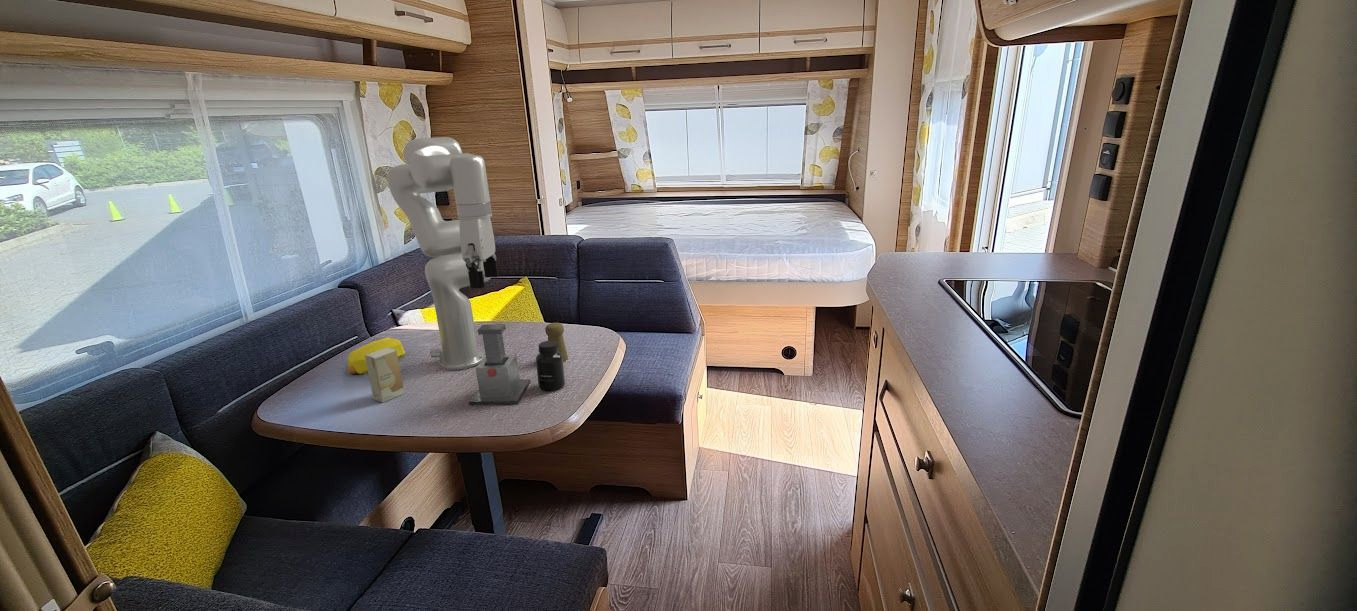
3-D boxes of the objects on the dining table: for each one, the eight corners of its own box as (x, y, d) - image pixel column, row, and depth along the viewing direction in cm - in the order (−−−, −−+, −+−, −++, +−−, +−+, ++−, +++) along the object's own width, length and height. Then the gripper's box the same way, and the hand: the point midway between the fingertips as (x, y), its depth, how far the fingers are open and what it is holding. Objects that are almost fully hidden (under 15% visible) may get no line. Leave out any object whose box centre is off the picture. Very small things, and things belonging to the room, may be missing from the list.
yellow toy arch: (341, 375, 161) (359, 379, 158) (335, 353, 159) (354, 357, 156) (395, 351, 176) (413, 355, 173) (391, 331, 174) (409, 334, 171)
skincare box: (382, 403, 143) (372, 358, 139) (372, 399, 145) (362, 355, 141) (406, 393, 148) (397, 349, 144) (396, 389, 150) (387, 346, 147)
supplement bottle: (542, 394, 145) (537, 351, 141) (536, 384, 150) (530, 342, 147) (569, 388, 148) (564, 345, 144) (561, 378, 153) (556, 337, 150)
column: (487, 391, 144) (477, 330, 139) (491, 385, 147) (482, 324, 142) (509, 391, 144) (500, 329, 138) (513, 384, 147) (505, 324, 142)
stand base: (469, 405, 140) (463, 372, 138) (485, 383, 152) (481, 352, 149) (517, 404, 140) (513, 370, 137) (530, 382, 152) (526, 351, 149)
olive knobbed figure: (563, 364, 162) (559, 328, 159) (543, 363, 163) (539, 327, 160) (571, 355, 168) (567, 320, 164) (552, 354, 169) (548, 320, 166)
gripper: (471, 205, 140) (482, 273, 145) (443, 217, 123) (455, 293, 128) (502, 204, 139) (511, 272, 145) (477, 216, 123) (488, 292, 128)
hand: (485, 282), depth 137 cm, fingers open, 9 cm apart
